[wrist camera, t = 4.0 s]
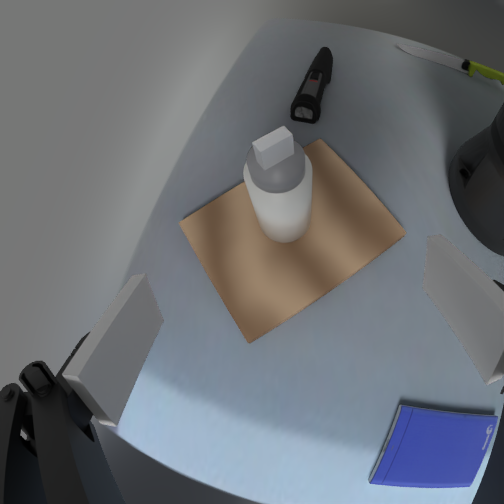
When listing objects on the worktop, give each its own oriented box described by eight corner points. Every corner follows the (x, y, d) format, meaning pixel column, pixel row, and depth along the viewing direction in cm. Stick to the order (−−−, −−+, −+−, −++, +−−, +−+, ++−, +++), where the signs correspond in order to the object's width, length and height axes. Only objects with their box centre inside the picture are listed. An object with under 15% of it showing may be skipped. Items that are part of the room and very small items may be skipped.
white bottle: (291, 187, 29) (282, 102, 19) (321, 224, 27) (329, 144, 17) (249, 213, 29) (219, 135, 18) (277, 252, 27) (260, 184, 16)
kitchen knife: (395, 58, 38) (396, 44, 35) (395, 54, 38) (396, 41, 35) (505, 90, 31) (509, 78, 28) (503, 86, 31) (507, 74, 28)
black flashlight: (338, 63, 37) (338, 47, 34) (317, 126, 33) (318, 108, 30) (314, 59, 38) (314, 44, 35) (288, 120, 34) (286, 102, 31)
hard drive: (499, 416, 17) (403, 405, 21) (470, 487, 15) (369, 485, 18) (491, 414, 19) (397, 403, 22) (464, 483, 17) (366, 479, 20)
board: (320, 143, 32) (320, 138, 31) (403, 236, 27) (406, 232, 26) (182, 226, 31) (178, 222, 30) (249, 343, 26) (248, 342, 25)
